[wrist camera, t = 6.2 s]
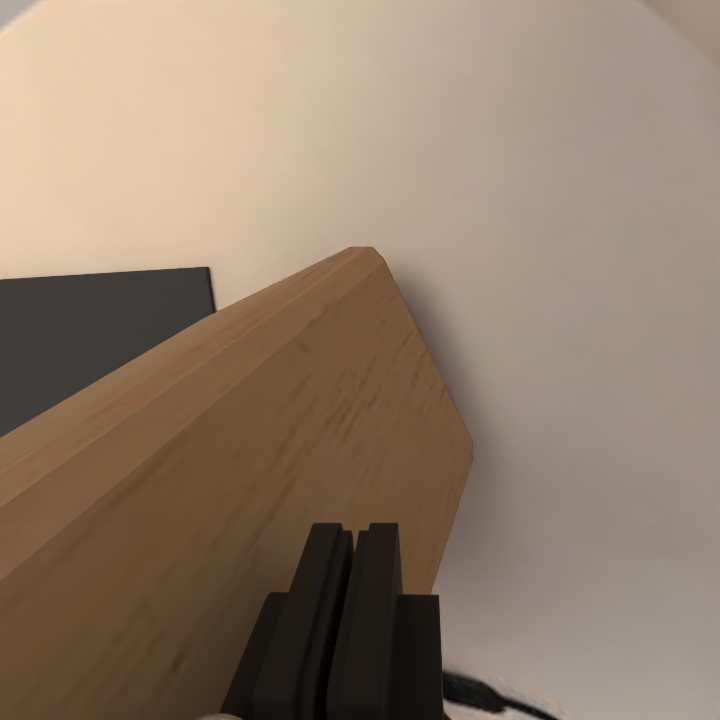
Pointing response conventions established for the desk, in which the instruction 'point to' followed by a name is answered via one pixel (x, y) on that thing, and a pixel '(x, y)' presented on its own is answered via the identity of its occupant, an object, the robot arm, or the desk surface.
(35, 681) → the block
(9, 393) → the mat
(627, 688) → the desk surface
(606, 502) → the desk surface
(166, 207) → the desk surface
